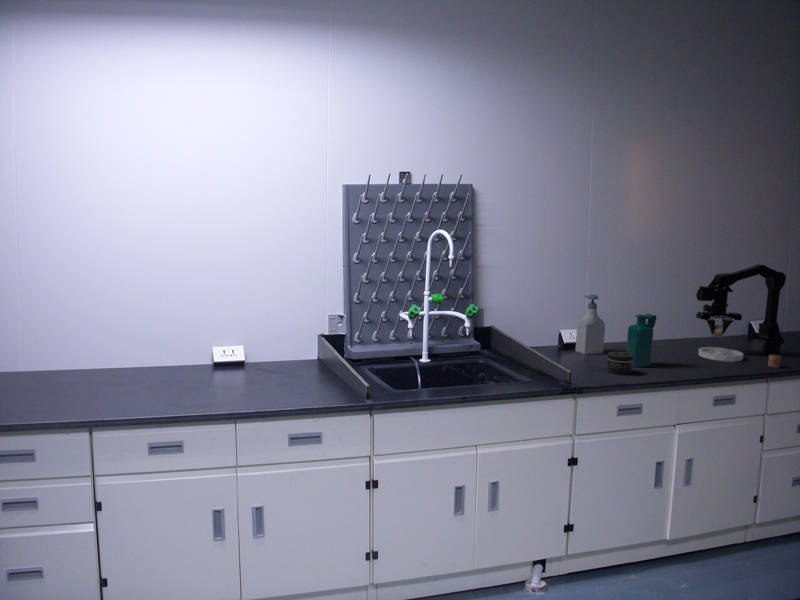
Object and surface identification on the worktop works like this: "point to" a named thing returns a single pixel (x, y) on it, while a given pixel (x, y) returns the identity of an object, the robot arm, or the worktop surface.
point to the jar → (619, 363)
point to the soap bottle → (590, 331)
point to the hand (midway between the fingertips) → (717, 334)
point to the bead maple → (718, 331)
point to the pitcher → (641, 340)
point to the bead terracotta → (774, 361)
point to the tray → (720, 354)
